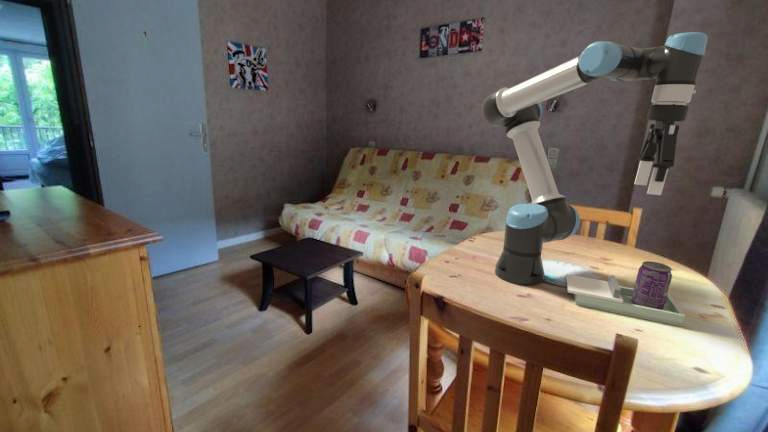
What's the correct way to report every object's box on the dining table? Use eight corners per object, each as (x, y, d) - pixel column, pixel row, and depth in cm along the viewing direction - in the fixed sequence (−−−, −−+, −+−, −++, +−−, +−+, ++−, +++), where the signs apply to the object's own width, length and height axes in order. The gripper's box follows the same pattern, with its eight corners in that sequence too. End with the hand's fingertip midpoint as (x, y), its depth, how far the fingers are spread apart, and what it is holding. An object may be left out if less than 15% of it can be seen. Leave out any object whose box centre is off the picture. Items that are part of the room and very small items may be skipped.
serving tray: (575, 304, 96) (577, 294, 95) (572, 286, 107) (574, 277, 106) (682, 326, 87) (685, 316, 86) (668, 304, 97) (670, 295, 96)
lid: (567, 292, 97) (569, 282, 96) (566, 276, 107) (567, 266, 106) (622, 303, 91) (625, 292, 90) (615, 285, 101) (617, 275, 101)
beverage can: (654, 301, 97) (664, 262, 94) (668, 314, 90) (680, 272, 87) (626, 298, 98) (635, 259, 95) (638, 311, 92) (648, 269, 88)
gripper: (710, 102, 71) (680, 201, 77) (672, 106, 93) (651, 182, 99) (666, 102, 74) (641, 197, 80) (638, 105, 96) (620, 179, 102)
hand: (646, 189), depth 90 cm, fingers open, 13 cm apart
